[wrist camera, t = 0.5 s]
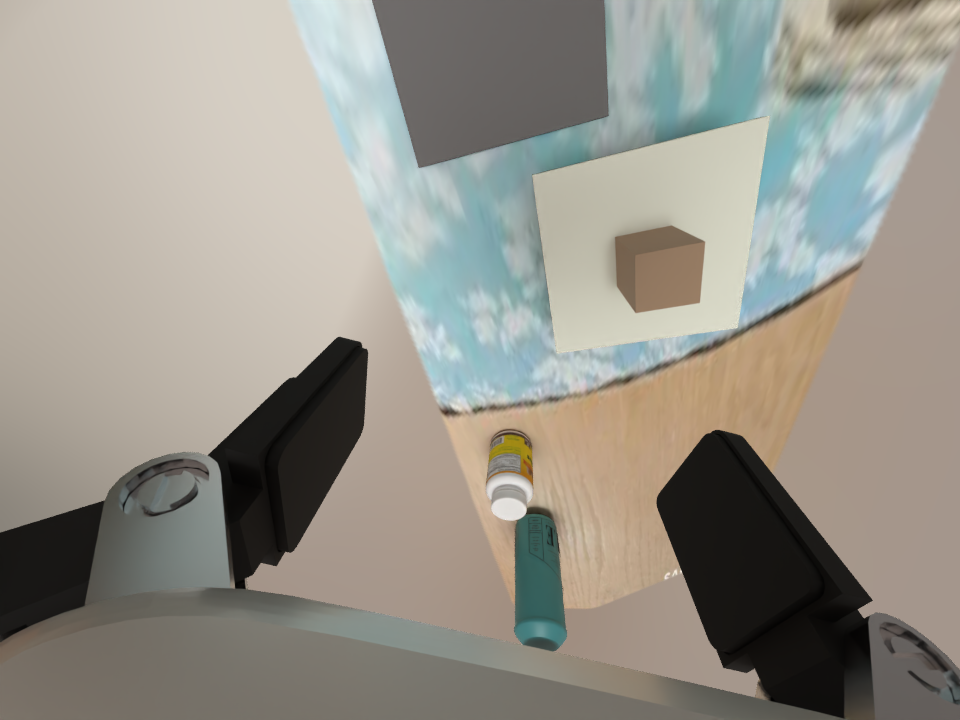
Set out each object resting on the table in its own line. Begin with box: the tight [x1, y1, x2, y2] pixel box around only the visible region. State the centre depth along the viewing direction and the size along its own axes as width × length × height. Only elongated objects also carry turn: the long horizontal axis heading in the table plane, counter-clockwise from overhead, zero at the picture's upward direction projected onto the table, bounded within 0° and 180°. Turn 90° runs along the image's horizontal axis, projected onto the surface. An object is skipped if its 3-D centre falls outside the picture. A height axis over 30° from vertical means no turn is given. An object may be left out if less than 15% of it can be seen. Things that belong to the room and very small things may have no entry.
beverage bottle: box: [514, 514, 567, 652], centre depth 46 cm, size 6×7×20 cm
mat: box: [372, 0, 608, 168], centre depth 25 cm, size 16×16×1 cm
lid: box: [532, 116, 770, 354], centre depth 25 cm, size 15×15×6 cm
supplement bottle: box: [486, 430, 533, 521], centre depth 42 cm, size 6×6×10 cm
